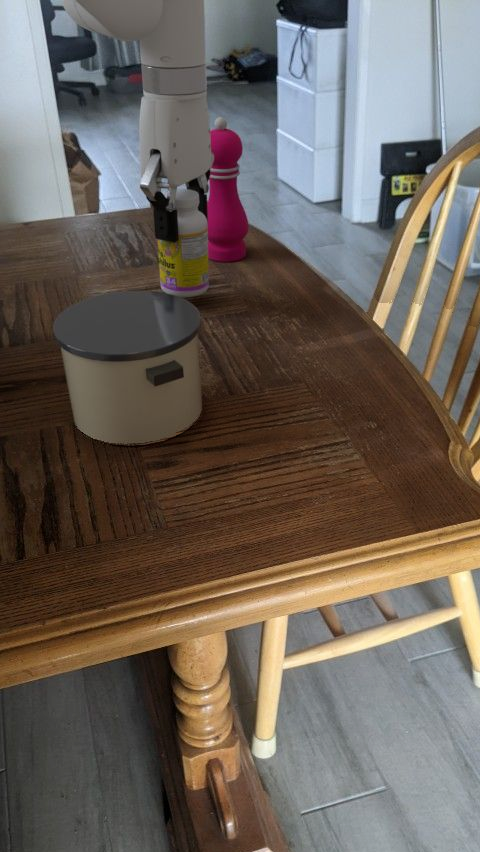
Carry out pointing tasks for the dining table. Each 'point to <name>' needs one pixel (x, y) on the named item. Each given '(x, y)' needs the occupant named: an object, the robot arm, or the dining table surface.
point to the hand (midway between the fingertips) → (182, 230)
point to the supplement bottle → (186, 250)
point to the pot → (131, 365)
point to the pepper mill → (225, 197)
